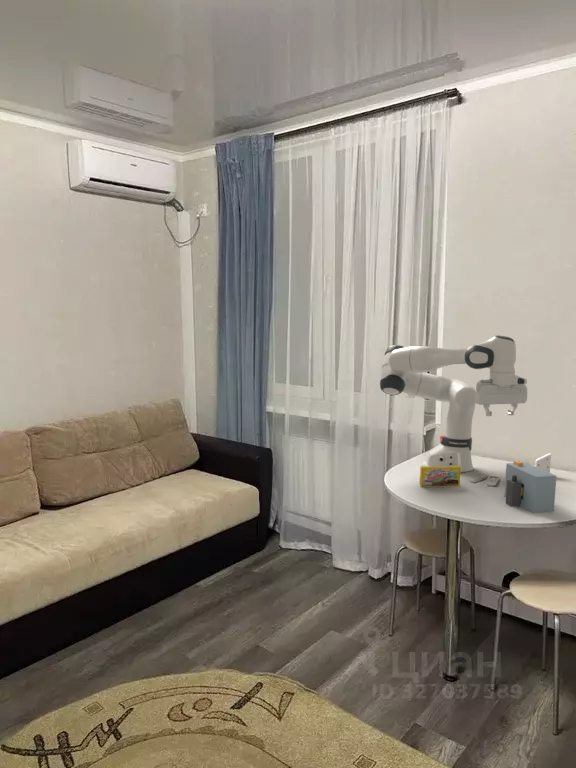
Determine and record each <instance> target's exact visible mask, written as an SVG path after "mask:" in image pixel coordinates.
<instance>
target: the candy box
mask: <svg viewBox="0 0 576 768" xmlns="http://www.w3.org/2000/svg"><path fill="white" fill-rule="evenodd" d="M419 469H420V471H419V485H420V486H446V487H460V485H461V483H460V482H461V473H462V472H461V467H460V466H420V468H419ZM460 472H461V473H460ZM420 486H419V487H420Z"/></svg>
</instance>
